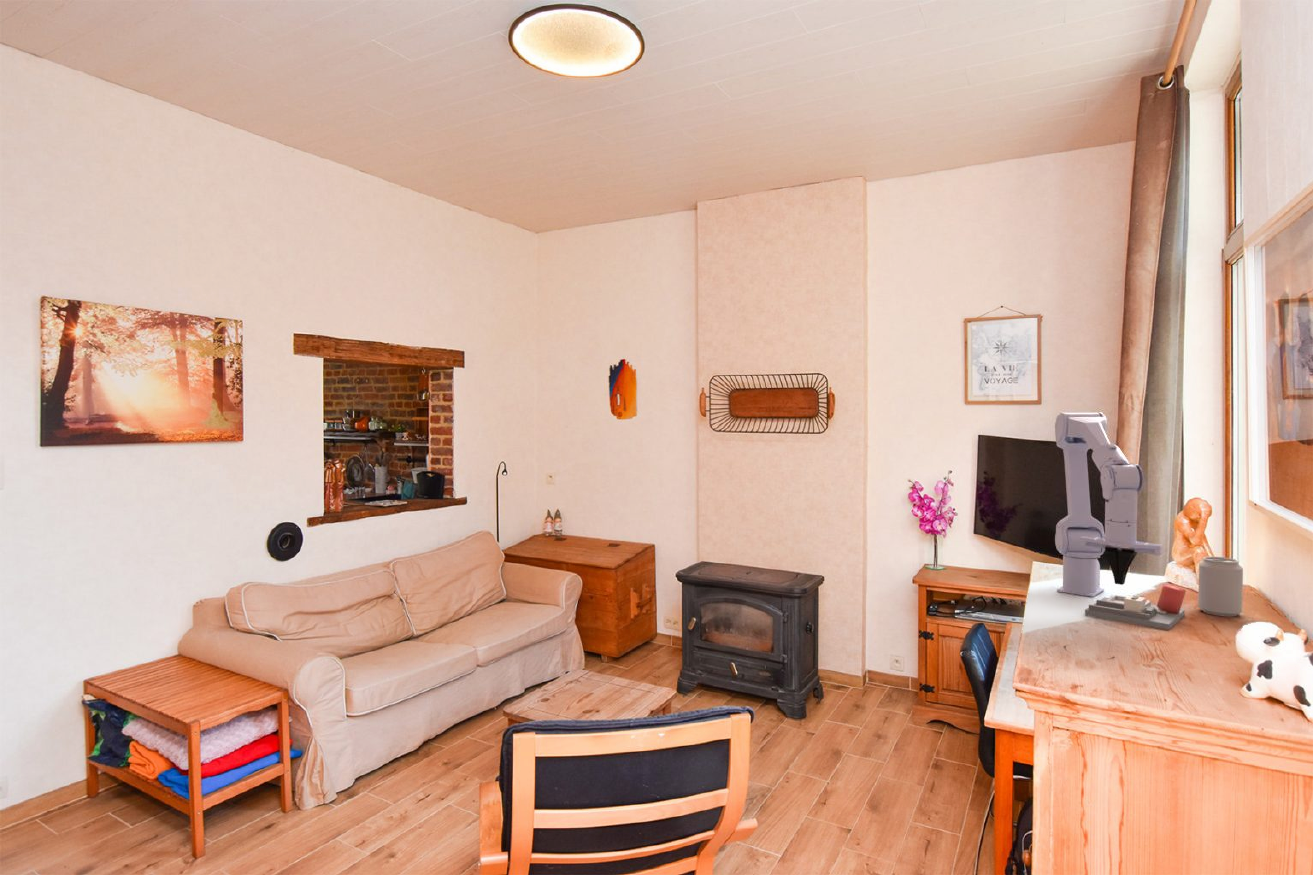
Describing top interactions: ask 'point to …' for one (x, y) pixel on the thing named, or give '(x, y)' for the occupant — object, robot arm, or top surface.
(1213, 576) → the can
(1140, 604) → the breaker
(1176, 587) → the red rounded cube
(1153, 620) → the panel
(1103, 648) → the top surface
